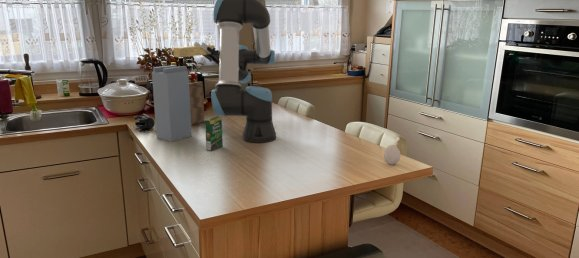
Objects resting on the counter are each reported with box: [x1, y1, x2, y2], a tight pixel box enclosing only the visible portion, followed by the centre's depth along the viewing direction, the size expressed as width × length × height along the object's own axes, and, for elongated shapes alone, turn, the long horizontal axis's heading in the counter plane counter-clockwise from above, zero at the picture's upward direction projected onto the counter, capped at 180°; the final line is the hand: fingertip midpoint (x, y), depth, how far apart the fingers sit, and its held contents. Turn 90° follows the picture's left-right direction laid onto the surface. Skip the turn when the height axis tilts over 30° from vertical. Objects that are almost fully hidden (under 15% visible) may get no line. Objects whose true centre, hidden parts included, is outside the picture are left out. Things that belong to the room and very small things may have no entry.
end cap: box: [134, 113, 156, 133], centre depth 217 cm, size 10×7×7 cm
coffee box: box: [204, 115, 224, 152], centre depth 184 cm, size 8×3×13 cm, turn 150°
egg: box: [383, 144, 401, 166], centre depth 166 cm, size 6×6×8 cm
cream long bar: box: [172, 44, 216, 58], centre depth 206 cm, size 22×4×4 cm, turn 145°
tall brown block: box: [189, 79, 205, 126], centre depth 229 cm, size 10×10×21 cm
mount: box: [151, 64, 192, 143], centre depth 200 cm, size 12×10×32 cm
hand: (198, 44), depth 207 cm, fingers closed on cream long bar, 4 cm apart
